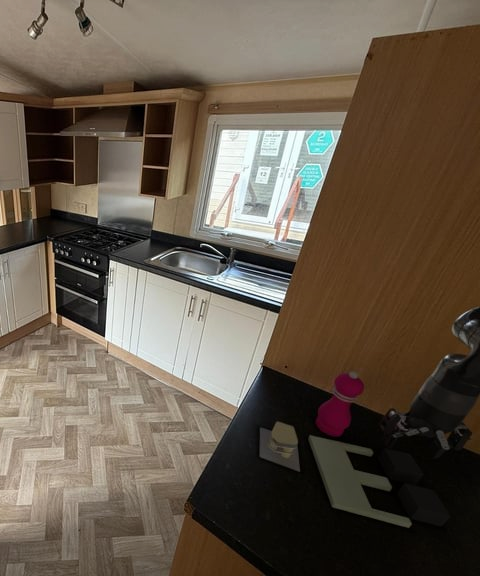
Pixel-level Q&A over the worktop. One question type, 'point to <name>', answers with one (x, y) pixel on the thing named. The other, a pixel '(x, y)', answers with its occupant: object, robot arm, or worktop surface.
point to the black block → (423, 504)
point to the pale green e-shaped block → (349, 479)
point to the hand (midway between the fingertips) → (408, 450)
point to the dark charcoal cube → (400, 466)
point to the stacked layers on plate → (280, 445)
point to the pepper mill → (339, 404)
